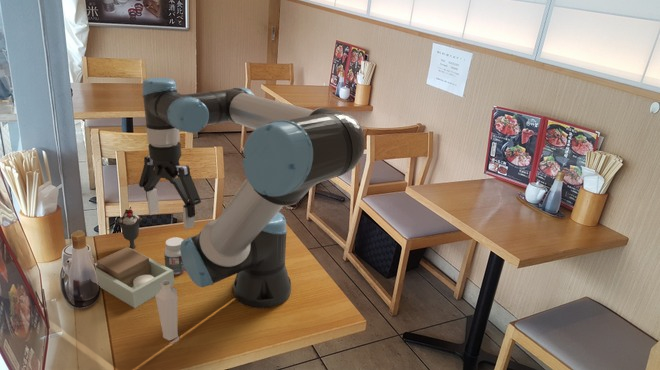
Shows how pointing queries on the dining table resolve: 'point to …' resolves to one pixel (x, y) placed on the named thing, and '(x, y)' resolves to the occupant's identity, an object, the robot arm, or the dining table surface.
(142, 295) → the tote
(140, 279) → the white half dome
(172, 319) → the perfume bottle
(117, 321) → the dining table surface
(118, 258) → the walnut block
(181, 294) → the dining table surface
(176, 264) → the pill bottle
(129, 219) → the sundae
